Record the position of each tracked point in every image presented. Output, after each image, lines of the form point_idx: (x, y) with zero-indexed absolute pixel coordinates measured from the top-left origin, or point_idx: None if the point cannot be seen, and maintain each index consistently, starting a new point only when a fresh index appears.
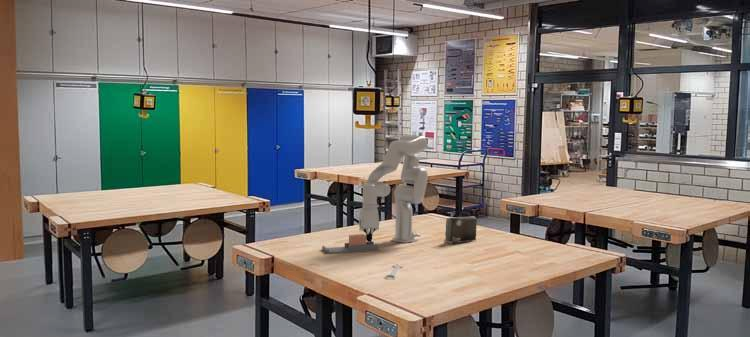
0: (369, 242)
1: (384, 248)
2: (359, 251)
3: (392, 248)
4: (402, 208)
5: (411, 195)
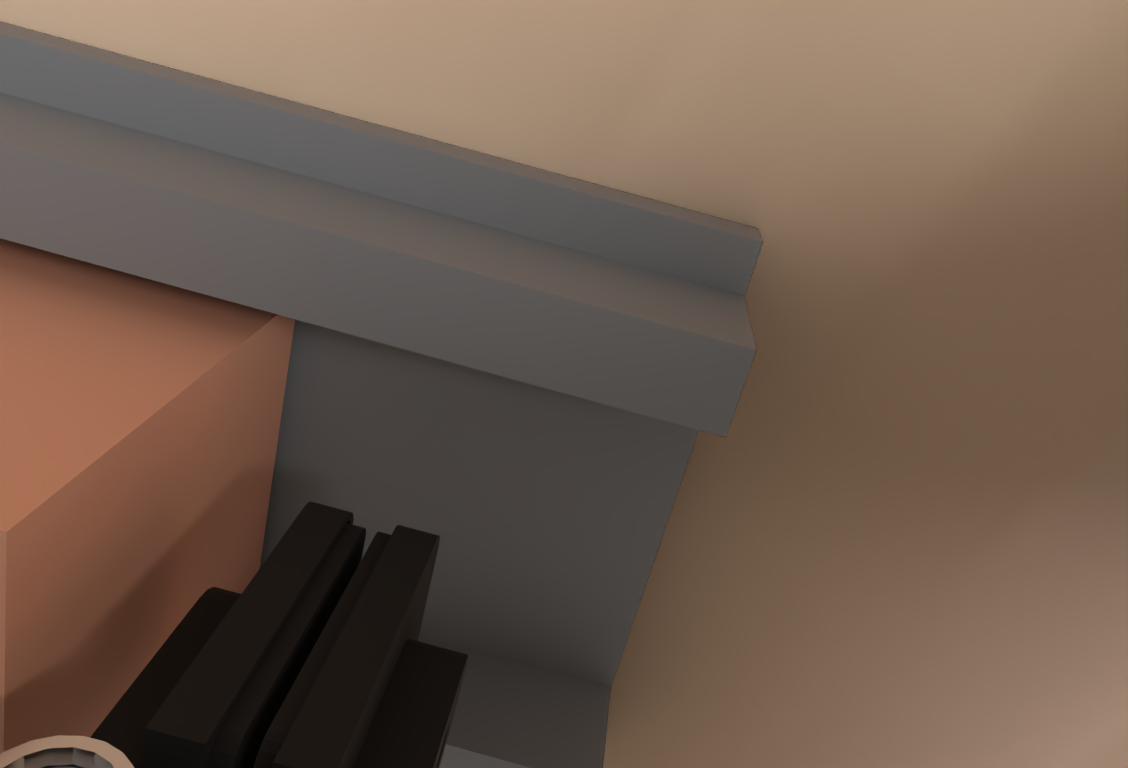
0: (542, 376)
1: (904, 649)
2: None
3: (1107, 764)
4: None
5: None
